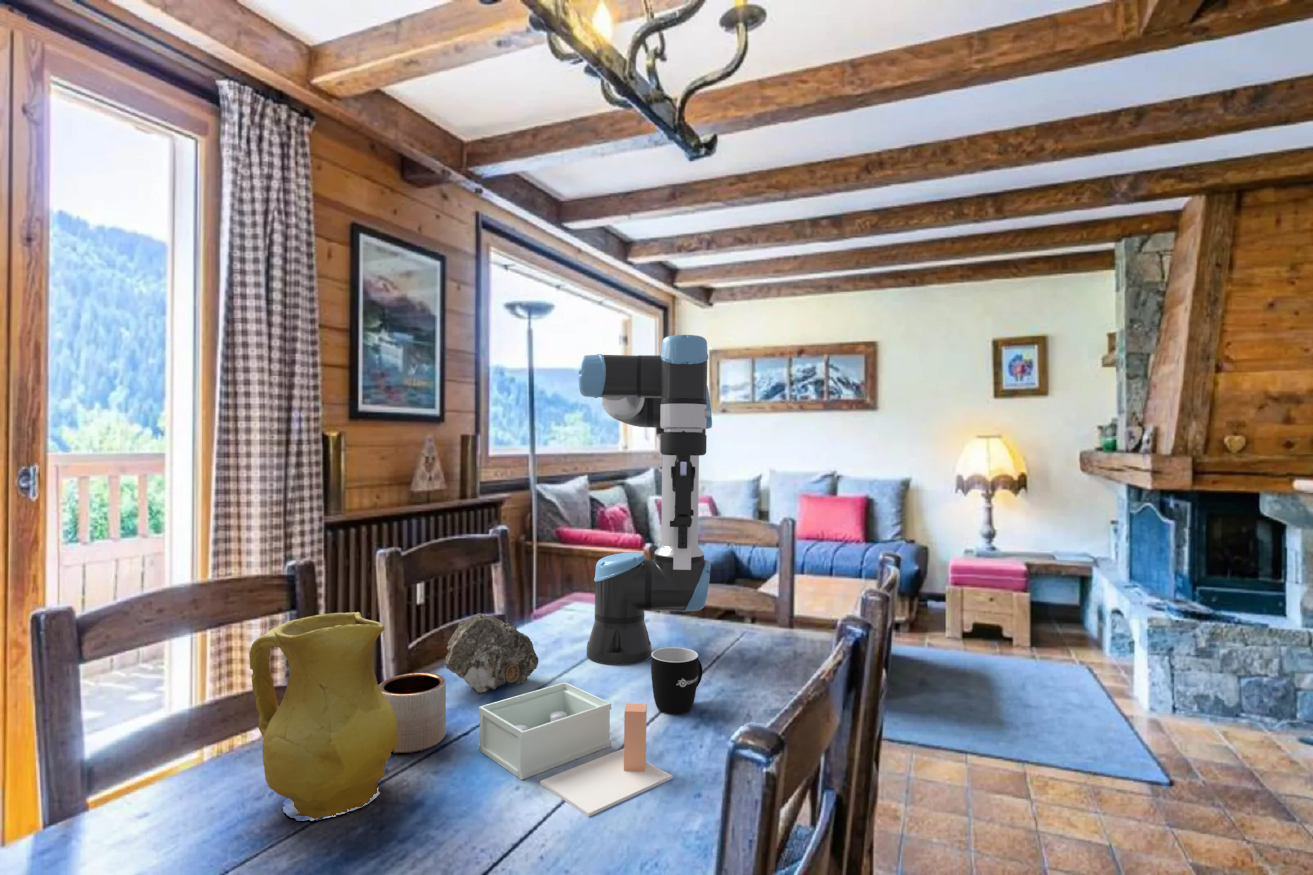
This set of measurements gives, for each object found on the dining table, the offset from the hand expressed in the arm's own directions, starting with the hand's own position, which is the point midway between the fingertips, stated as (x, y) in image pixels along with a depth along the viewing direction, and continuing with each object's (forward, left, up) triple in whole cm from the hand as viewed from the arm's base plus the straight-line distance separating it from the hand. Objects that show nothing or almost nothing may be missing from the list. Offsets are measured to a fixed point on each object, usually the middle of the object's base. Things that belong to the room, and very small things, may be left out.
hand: (681, 561), depth 113 cm
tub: (+16, -15, -31) cm, 38 cm away
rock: (+7, -48, -31) cm, 57 cm away
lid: (+15, 0, -31) cm, 35 cm away
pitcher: (+47, -23, -31) cm, 61 cm away
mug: (-13, -13, -31) cm, 36 cm away
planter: (+31, -32, -31) cm, 54 cm away
